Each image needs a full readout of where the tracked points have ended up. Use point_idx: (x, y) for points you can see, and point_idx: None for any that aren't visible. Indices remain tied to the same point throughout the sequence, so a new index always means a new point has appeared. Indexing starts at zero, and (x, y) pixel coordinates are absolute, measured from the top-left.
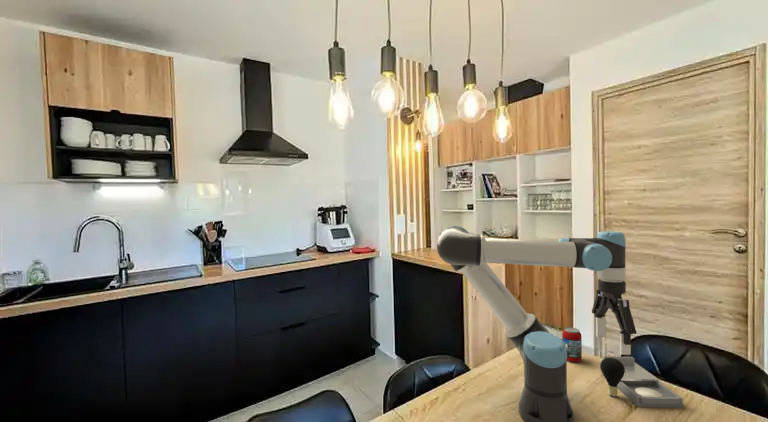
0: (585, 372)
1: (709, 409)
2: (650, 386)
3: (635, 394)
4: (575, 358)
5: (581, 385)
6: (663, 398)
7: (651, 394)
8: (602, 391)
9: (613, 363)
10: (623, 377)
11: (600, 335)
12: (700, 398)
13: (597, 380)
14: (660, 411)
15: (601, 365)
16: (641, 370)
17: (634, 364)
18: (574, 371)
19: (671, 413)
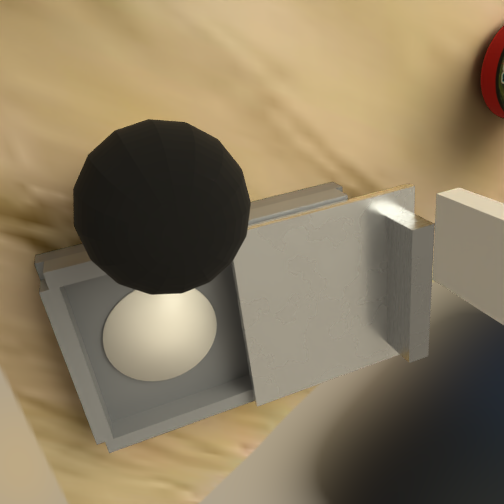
0: (376, 92)
1: (114, 496)
2: (236, 354)
3: (79, 272)
4: (494, 72)
5: (221, 7)
6: (77, 386)
7: (150, 342)
8: (170, 117)
9: (112, 224)
10: (251, 261)
11: (449, 235)
12: (197, 485)
13: (293, 130)
14: (27, 338)
15: (156, 126)
16: (336, 358)
17: (388, 343)
18: (386, 28)
19: (24, 376)
